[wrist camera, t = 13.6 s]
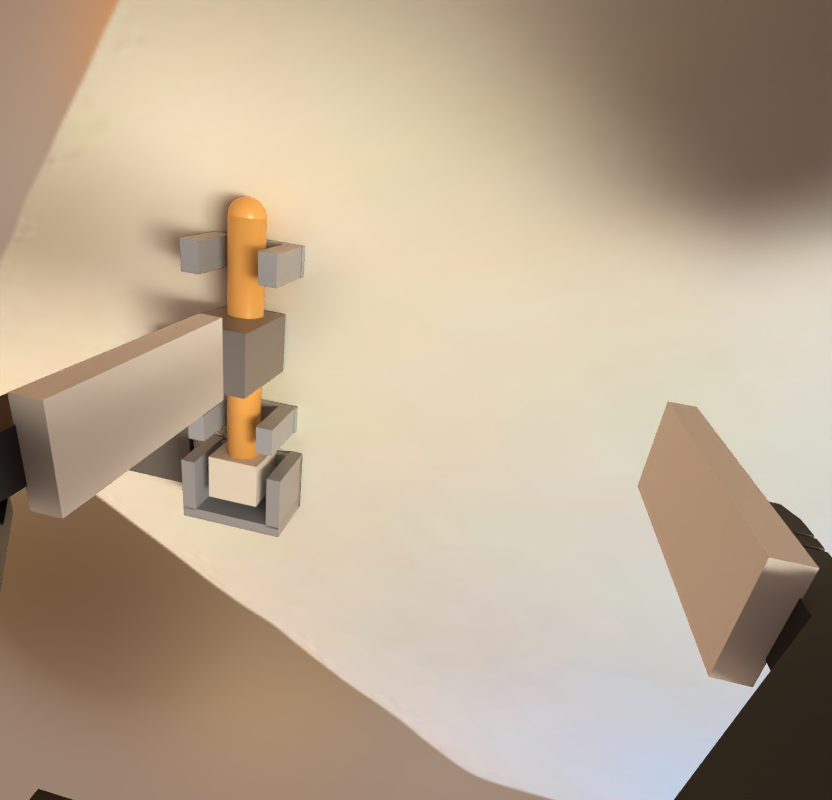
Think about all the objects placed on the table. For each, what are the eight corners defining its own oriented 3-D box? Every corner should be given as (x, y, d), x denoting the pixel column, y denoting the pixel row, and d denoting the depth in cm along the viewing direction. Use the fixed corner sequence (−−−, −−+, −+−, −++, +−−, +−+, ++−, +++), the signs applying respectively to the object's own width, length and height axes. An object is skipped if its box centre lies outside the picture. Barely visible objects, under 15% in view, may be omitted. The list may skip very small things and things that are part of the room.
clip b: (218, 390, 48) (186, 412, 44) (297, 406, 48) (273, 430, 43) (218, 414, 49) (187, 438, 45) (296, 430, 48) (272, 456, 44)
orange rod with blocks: (229, 191, 42) (176, 190, 35) (290, 201, 41) (247, 201, 35) (228, 474, 51) (186, 513, 45) (277, 484, 50) (242, 526, 44)
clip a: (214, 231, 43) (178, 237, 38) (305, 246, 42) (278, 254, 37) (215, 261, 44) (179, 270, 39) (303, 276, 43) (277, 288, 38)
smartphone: (192, 485, 53) (54, 454, 54) (197, 480, 54) (61, 449, 55) (190, 424, 50) (45, 392, 51) (195, 420, 51) (52, 389, 52)
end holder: (211, 434, 50) (181, 459, 46) (302, 454, 49) (280, 481, 45) (213, 486, 53) (184, 515, 48) (299, 505, 52) (278, 537, 47)
